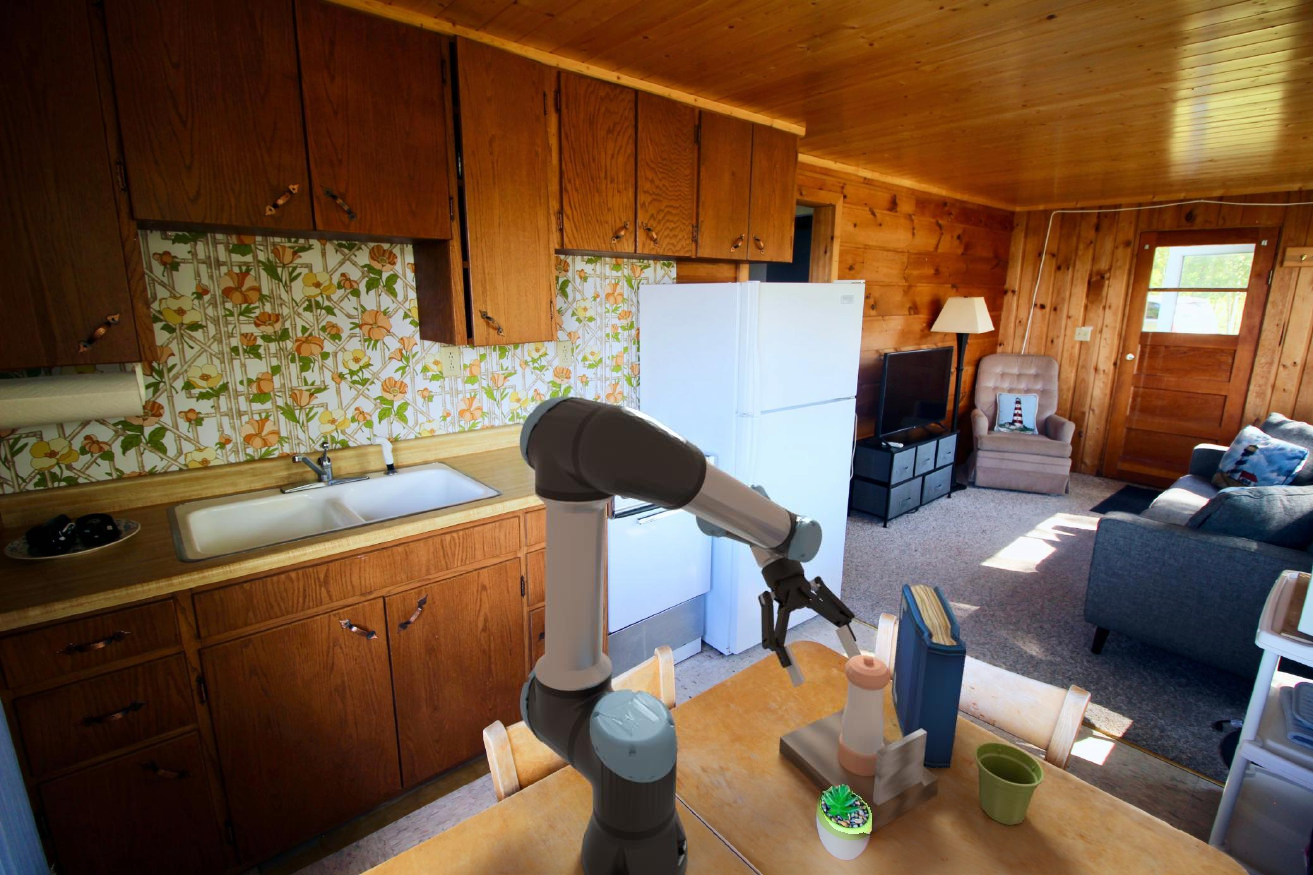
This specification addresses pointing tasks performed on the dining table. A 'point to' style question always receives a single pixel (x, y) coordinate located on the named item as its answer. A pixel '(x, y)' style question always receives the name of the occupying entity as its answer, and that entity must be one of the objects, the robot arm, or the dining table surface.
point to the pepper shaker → (863, 715)
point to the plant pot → (1006, 780)
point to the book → (928, 671)
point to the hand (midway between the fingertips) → (830, 673)
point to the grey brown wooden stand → (885, 792)
